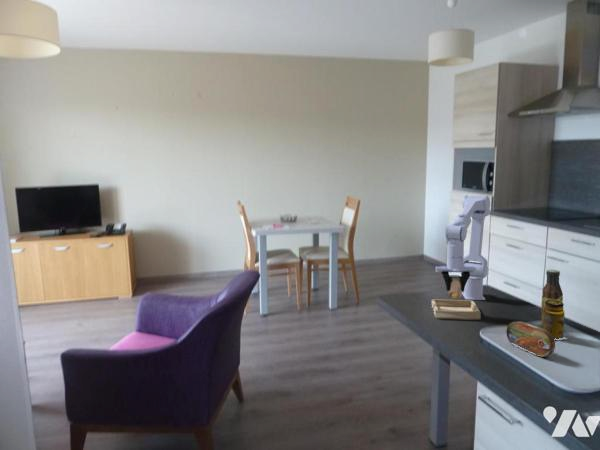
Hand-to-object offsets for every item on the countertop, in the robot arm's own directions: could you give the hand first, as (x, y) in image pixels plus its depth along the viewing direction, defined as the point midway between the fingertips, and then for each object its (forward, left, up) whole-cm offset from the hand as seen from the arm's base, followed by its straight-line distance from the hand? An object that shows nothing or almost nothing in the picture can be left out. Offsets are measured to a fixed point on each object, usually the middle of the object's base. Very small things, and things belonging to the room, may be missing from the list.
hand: (455, 290), depth 164 cm
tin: (+32, +17, -9) cm, 37 cm away
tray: (0, 0, -9) cm, 9 cm away
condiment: (+20, +27, -9) cm, 35 cm away
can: (0, 0, -2) cm, 2 cm away
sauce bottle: (+10, +31, -9) cm, 34 cm away
